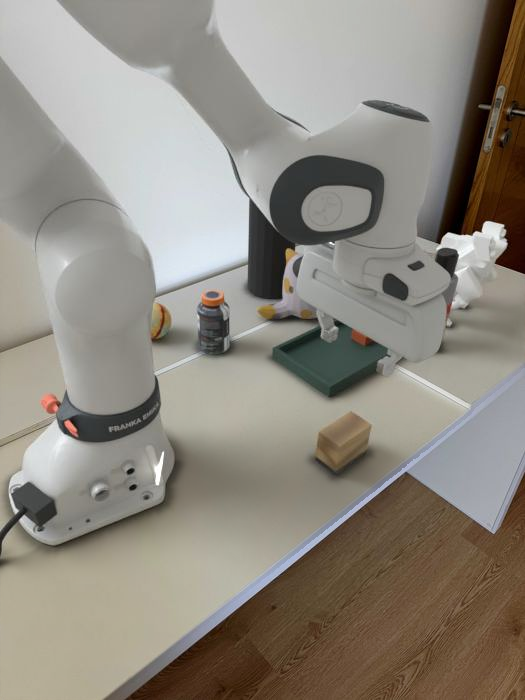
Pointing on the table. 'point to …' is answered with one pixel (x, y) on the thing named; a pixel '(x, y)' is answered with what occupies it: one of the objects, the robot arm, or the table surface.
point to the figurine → (289, 294)
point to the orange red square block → (360, 338)
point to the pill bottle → (213, 323)
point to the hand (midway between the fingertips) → (355, 355)
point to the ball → (160, 321)
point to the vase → (265, 255)
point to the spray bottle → (448, 262)
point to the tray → (329, 358)
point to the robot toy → (475, 261)
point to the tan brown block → (342, 442)
